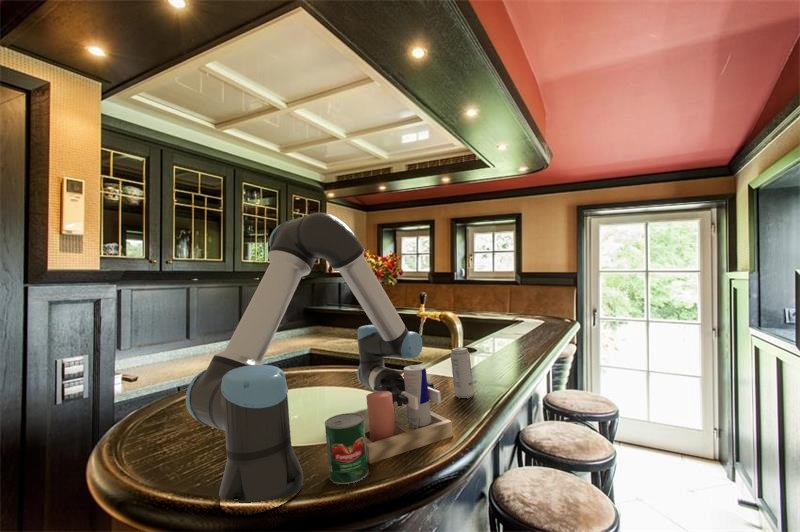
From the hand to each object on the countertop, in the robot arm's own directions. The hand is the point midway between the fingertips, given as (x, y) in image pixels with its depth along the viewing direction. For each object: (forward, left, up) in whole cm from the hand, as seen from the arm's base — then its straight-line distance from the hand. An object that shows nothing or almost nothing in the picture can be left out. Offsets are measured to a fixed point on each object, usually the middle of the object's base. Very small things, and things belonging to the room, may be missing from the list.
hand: (428, 400), depth 87 cm
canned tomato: (-21, -2, -10) cm, 23 cm away
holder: (-5, +5, -10) cm, 12 cm away
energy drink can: (+26, +22, -10) cm, 36 cm away
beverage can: (0, +5, -8) cm, 10 cm away
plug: (-10, +5, -10) cm, 15 cm away
